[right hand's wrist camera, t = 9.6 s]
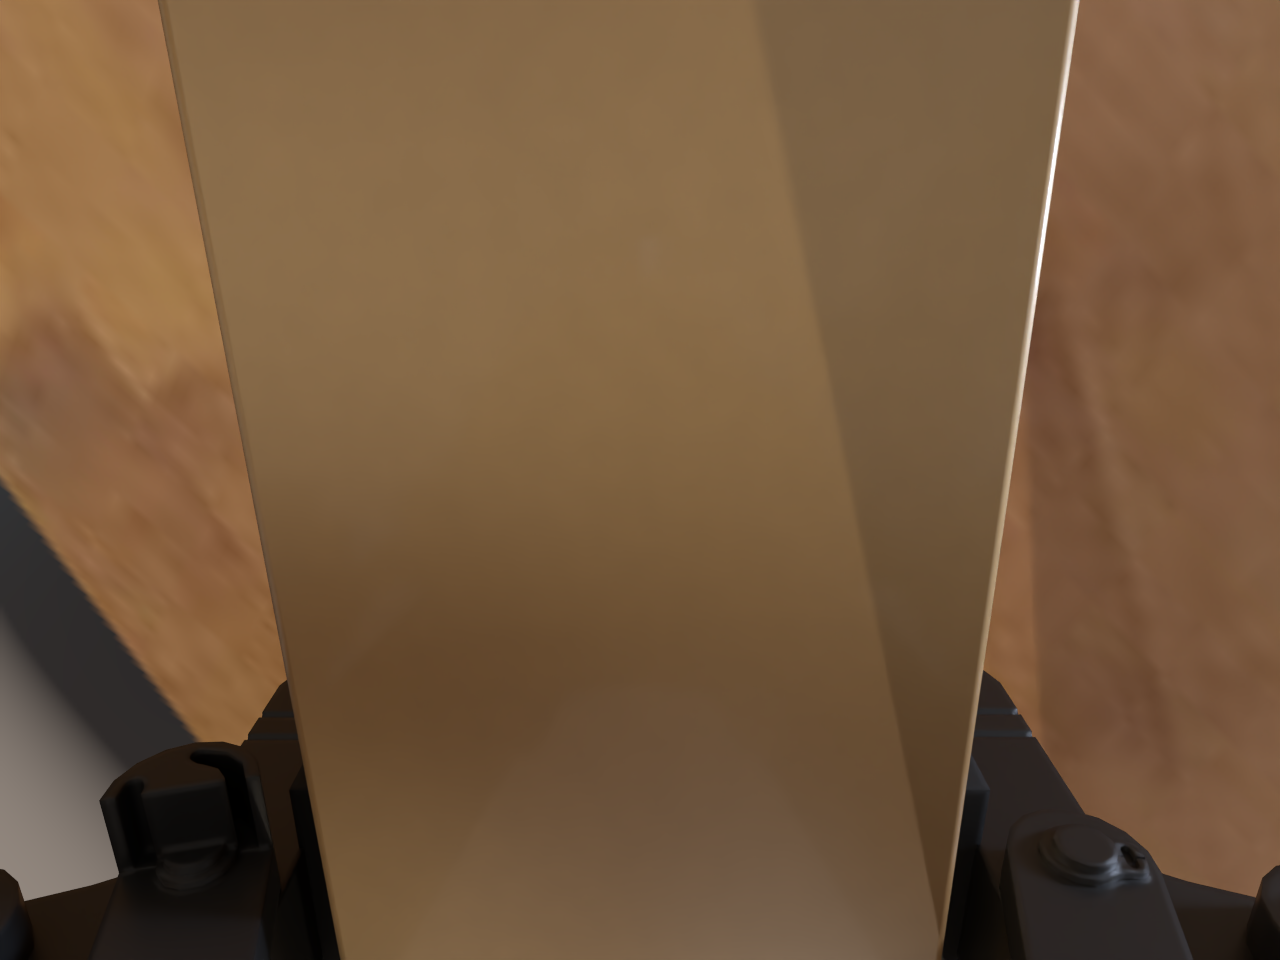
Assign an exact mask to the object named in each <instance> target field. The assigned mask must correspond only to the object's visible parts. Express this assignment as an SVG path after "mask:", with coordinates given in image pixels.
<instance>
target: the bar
mask: <svg viewBox="0 0 1280 960" xmlns="http://www.w3.org/2000/svg"><path fill="white" fill-rule="evenodd" d="M1079 1H1080V0H158V4H159V9H160V14H161V20H162V25H163V30H164V35H165V41H166V46H167V51H168V56H169V62H170V67H171V72H172V77H173V83H174V88H175V93H176V98H177V104H178V109H179V114H180V119H181V125H182V130H183V135H184V140H185V146H186V151H187V156H188V161H189V167H190V172H191V177H192V182H193V188H194V193H195V198H196V203H197V209H198V214H199V219H200V224H201V230H202V235H203V240H204V245H205V251H206V256H207V261H208V266H209V272H210V277H211V282H212V287H213V293H214V298H215V303H216V308H217V314H218V319H219V324H220V329H221V335H222V340H223V345H224V350H225V356H226V361H227V366H228V372H229V377H230V382H231V387H232V393H233V398H234V403H235V408H236V414H237V419H238V424H239V429H240V435H241V440H242V445H243V450H244V456H245V461H246V466H247V471H248V477H249V482H250V487H251V492H252V498H253V503H254V508H255V513H256V519H257V524H258V529H259V534H260V540H261V545H262V550H263V555H264V561H265V566H266V571H267V576H268V582H269V587H270V592H271V597H272V603H273V608H274V613H275V618H276V624H277V629H278V634H279V639H280V645H281V650H282V655H283V660H284V666H285V671H286V676H287V681H288V687H289V692H290V697H291V702H292V708H293V713H294V718H295V723H296V729H297V734H298V739H299V744H300V750H301V755H302V760H303V765H304V771H305V776H306V781H307V786H308V792H309V797H310V802H311V808H312V813H313V818H314V823H315V829H316V834H317V839H318V844H319V850H320V855H321V860H322V865H323V871H324V876H325V881H326V886H327V892H328V897H329V902H330V907H331V913H332V918H333V923H334V928H335V934H336V939H337V944H338V949H339V955H340V960H941V958H942V951H943V944H944V937H945V930H946V924H947V917H948V910H949V903H950V896H951V889H952V882H953V875H954V868H955V861H956V854H957V847H958V840H959V833H960V826H961V819H962V813H963V806H964V799H965V792H966V785H967V778H968V771H969V764H970V757H971V750H972V743H973V736H974V729H975V722H976V715H977V708H978V701H979V695H980V688H981V681H982V674H983V667H984V660H985V653H986V646H987V639H988V632H989V625H990V618H991V611H992V604H993V597H994V590H995V584H996V577H997V570H998V563H999V556H1000V549H1001V542H1002V535H1003V528H1004V521H1005V514H1006V507H1007V500H1008V493H1009V486H1010V479H1011V473H1012V466H1013V459H1014V452H1015V445H1016V438H1017V431H1018V424H1019V417H1020V410H1021V403H1022V396H1023V389H1024V382H1025V375H1026V368H1027V362H1028V355H1029V348H1030V341H1031V334H1032V327H1033V320H1034V313H1035V306H1036V299H1037V292H1038V285H1039V278H1040V271H1041V264H1042V257H1043V251H1044V244H1045V237H1046V230H1047V223H1048V216H1049V209H1050V202H1051V195H1052V188H1053V181H1054V174H1055V167H1056V160H1057V153H1058V146H1059V140H1060V133H1061V126H1062V119H1063V112H1064V105H1065V98H1066V91H1067V84H1068V77H1069V70H1070V63H1071V56H1072V49H1073V42H1074V35H1075V29H1076V22H1077V15H1078V8H1079Z"/></svg>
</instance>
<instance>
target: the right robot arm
mask: <svg viewBox="0 0 1280 960" xmlns="http://www.w3.org/2000/svg"><path fill="white" fill-rule="evenodd" d="M100 805H101V809H102V812H103V816H104V820H105V823H106V827H107V830H108V834H109V838H110V841H111V845H112V849H113V852H114V856H115V860H116V863H117V867H118V871H119V875H118V877H117V878H114V879H110V880H107V881H104V882H101V883H98V884H94V885H91V886H87V887H82V888H78V889H74V890H70V891H66V892H61V893H58V894H53V895H49V896H45V897H40V898H36V899H32V900H28V901H24V899H23V896H22V893H21V890H20V887H19V884H18V882H17V881H16V880H15V879H14V878H13V877H12V876H11V875H10V874H8V873H7V872H6V871H5V870H3V869H0V960H340V955H339V949H338V944H337V939H336V934H335V928H334V923H333V918H332V913H331V907H330V902H329V897H328V892H327V886H326V881H325V876H324V871H323V865H322V860H321V855H320V850H319V844H318V839H317V834H316V829H315V823H314V818H313V813H312V808H311V802H310V797H309V792H308V786H307V781H306V776H305V771H304V765H303V760H302V755H301V750H300V744H299V739H298V734H297V729H296V723H295V718H294V713H293V708H292V702H291V697H290V692H289V687H288V681H287V680H286V681H285V682H284V683H282V684H281V685H280V686H279V687H278V689H277V690H276V692H275V693H274V695H273V697H272V698H271V700H270V701H269V703H268V704H267V706H266V707H265V709H264V711H263V712H262V718H258V720H257V721H256V723H255V725H254V726H253V728H252V729H251V731H250V732H249V734H248V740H244V742H243V743H242V745H241V746H237V745H234V744H230V743H226V742H198V743H192V744H188V745H184V746H180V747H176V748H172V749H168V750H165V751H163V752H160V753H158V754H156V755H154V756H152V757H150V758H147V759H145V760H143V761H141V762H139V763H137V764H136V765H134V766H133V767H132V768H130V769H129V770H128V771H126V772H125V773H124V774H122V775H121V776H120V777H118V778H117V779H116V780H114V781H113V783H112V784H111V785H110V787H109V788H108V789H107V791H106V792H105V794H104V795H103V796H102V798H101V799H100ZM941 960H1280V865H1279V866H1275V867H1274V868H1273V869H1272V870H1271V871H1270V872H1269V873H1267V874H1266V875H1265V876H1264V877H1263V878H1262V881H1261V884H1260V887H1259V890H1258V893H1257V896H1256V898H1255V897H1251V896H1247V895H1243V894H1238V893H1234V892H1230V891H1226V890H1221V889H1217V888H1213V887H1209V886H1204V885H1200V884H1196V883H1192V882H1188V881H1184V880H1181V879H1178V878H1175V877H1171V876H1168V875H1165V874H1162V873H1161V871H1160V870H1159V868H1158V867H1157V865H1156V863H1155V862H1154V860H1153V859H1152V857H1151V855H1150V854H1149V852H1148V851H1147V850H1146V849H1145V848H1144V847H1142V846H1141V845H1140V844H1139V843H1138V842H1137V841H1135V840H1134V839H1133V838H1132V837H1131V836H1129V835H1128V834H1127V833H1126V832H1124V831H1122V830H1120V829H1119V828H1117V827H1115V826H1113V825H1111V824H1109V823H1107V822H1105V821H1103V820H1101V819H1099V818H1097V817H1093V816H1089V815H1086V814H1085V813H1084V812H1083V810H1082V809H1081V807H1080V805H1079V804H1078V802H1077V801H1076V799H1075V798H1074V796H1073V795H1072V793H1071V792H1070V790H1069V788H1068V787H1067V785H1066V784H1065V782H1064V781H1063V779H1062V778H1061V776H1060V775H1059V773H1058V771H1057V770H1056V768H1055V767H1054V765H1053V764H1052V762H1051V761H1050V759H1049V758H1048V756H1047V754H1046V753H1045V751H1044V750H1043V748H1042V747H1041V745H1040V744H1039V742H1038V741H1037V739H1036V737H1032V731H1031V730H1030V728H1029V727H1028V725H1027V723H1026V722H1025V720H1024V719H1023V717H1022V716H1021V715H1018V713H1017V708H1016V706H1015V705H1014V703H1013V702H1012V700H1011V699H1010V697H1009V696H1008V694H1007V693H1006V691H1005V689H1004V688H1003V686H1002V685H1001V683H1000V682H998V681H997V680H996V679H994V678H993V677H992V676H990V675H989V674H988V673H986V672H985V671H984V670H983V674H982V681H981V688H980V695H979V701H978V708H977V715H976V722H975V729H974V736H973V743H972V750H971V757H970V764H969V771H968V778H967V785H966V792H965V799H964V806H963V813H962V819H961V826H960V833H959V840H958V847H957V854H956V861H955V868H954V875H953V882H952V889H951V896H950V903H949V910H948V917H947V924H946V930H945V937H944V944H943V951H942V958H941Z"/></svg>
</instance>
